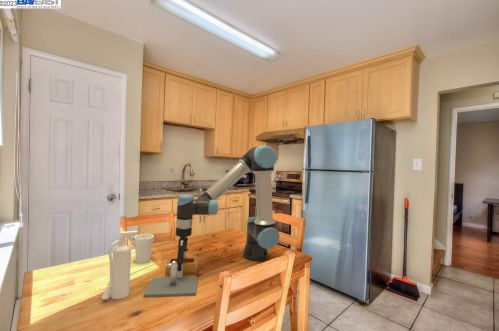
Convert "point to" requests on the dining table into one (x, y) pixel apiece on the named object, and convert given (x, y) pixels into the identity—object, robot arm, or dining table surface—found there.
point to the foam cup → (143, 247)
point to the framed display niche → (184, 266)
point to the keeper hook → (172, 272)
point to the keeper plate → (171, 287)
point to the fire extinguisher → (120, 267)
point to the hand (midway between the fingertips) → (181, 270)
